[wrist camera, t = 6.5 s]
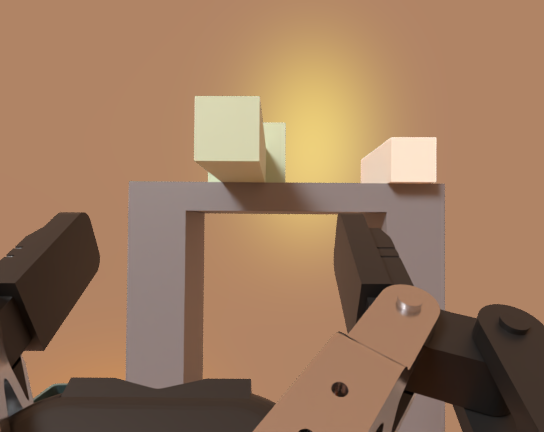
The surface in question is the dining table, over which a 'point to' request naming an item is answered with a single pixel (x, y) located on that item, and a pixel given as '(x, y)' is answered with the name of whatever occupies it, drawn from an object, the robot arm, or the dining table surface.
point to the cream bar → (401, 161)
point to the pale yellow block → (238, 140)
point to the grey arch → (255, 200)
